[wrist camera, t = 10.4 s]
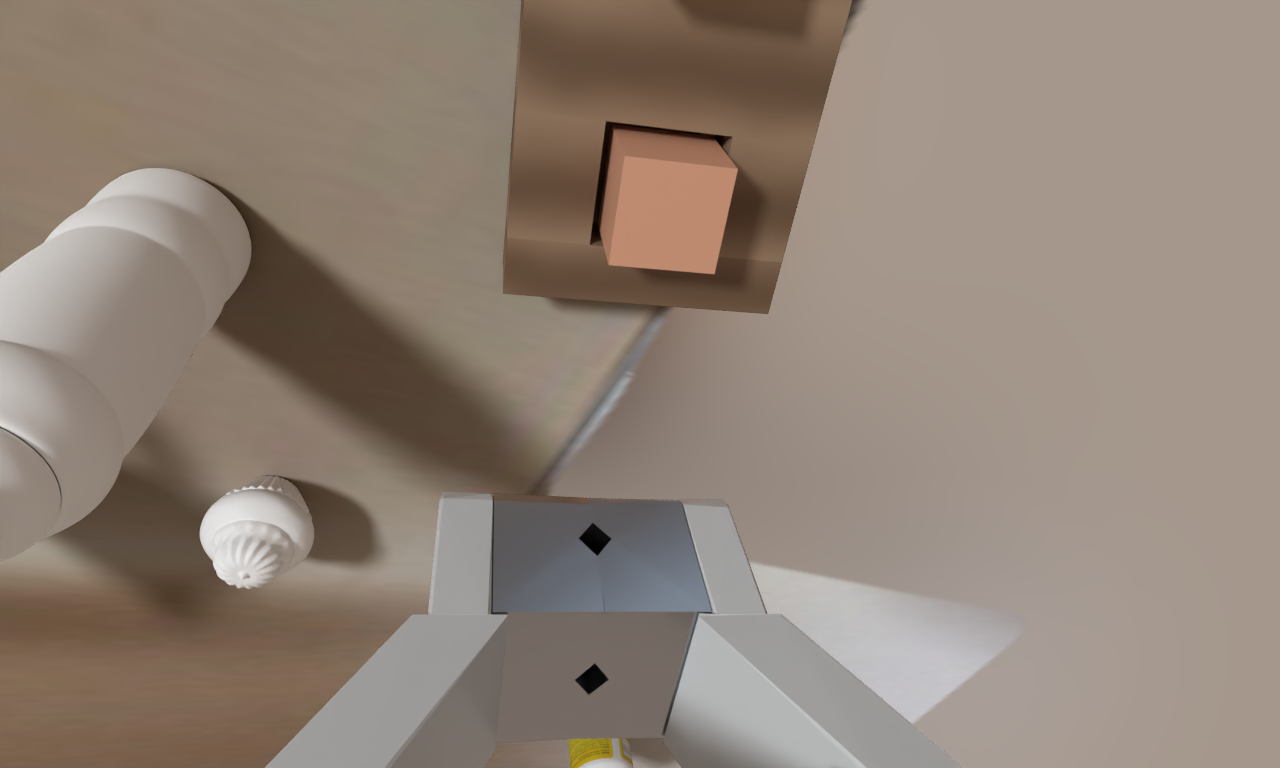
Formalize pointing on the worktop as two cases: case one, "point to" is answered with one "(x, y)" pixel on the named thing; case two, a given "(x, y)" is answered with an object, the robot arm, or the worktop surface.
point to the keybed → (672, 101)
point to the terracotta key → (664, 199)
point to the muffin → (257, 532)
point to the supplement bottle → (600, 753)
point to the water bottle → (104, 339)
